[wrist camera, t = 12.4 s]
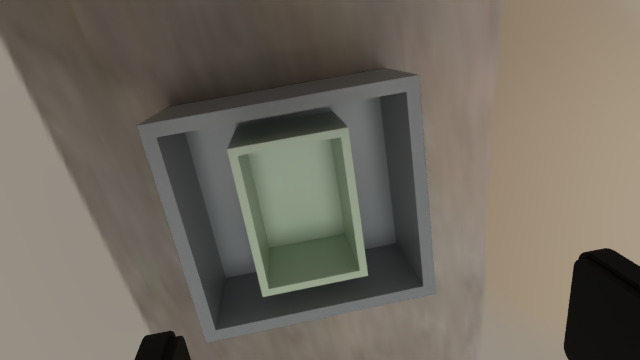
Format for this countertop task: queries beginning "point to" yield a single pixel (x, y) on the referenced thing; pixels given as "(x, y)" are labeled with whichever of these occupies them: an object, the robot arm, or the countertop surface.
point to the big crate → (226, 215)
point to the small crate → (299, 202)
